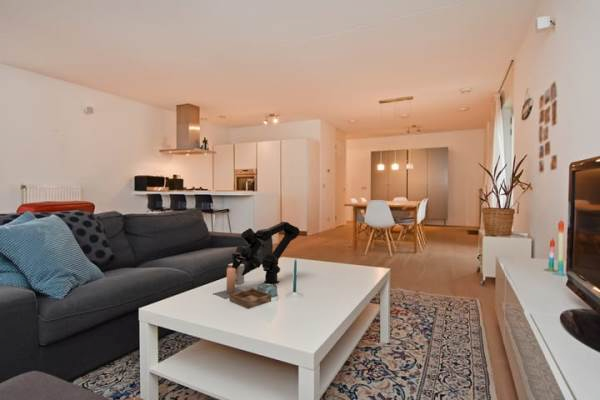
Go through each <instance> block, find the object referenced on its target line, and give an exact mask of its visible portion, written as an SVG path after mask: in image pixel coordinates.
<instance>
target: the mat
mask: <svg viewBox="0 0 600 400" xmlns="http://www.w3.org/2000/svg"><path fill="white" fill-rule="evenodd" d="M241 291H244V290H242V289H239V288H237V287H235V293H237V292H241ZM212 295H215V296H217V297H219V298H221V299H224V300H227V299H230V294H227V289H225V290H222V291H221V290H220V291H218V292H213V293H212Z"/></svg>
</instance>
